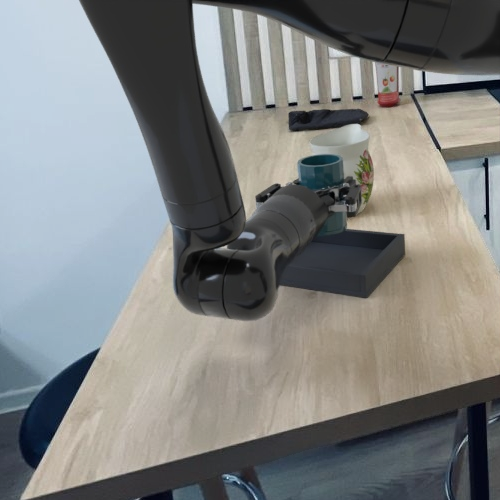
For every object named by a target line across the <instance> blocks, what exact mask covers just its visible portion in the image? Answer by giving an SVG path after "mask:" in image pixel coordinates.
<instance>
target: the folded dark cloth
mask: <svg viewBox="0 0 500 500" xmlns="http://www.w3.org/2000/svg"><path fill="white" fill-rule="evenodd" d="M287 115H288V122H287V123H288V130H290V131H292V132H297V131H313V130H320V129H331V128H341V127H343V126H346V125H350V124H359V123H361V122H363V121H364V120H365V119H366V118H368V117H369V116H370V114H369V112H367V111H366V110H363V109H361V108H346V109H345V108H344V109H342V108H341V109H329V108H328V109H327V108H322V109H312V110H309V111H306V110H291V111H289V112H288V113H287Z"/></svg>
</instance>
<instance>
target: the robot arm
mask: <svg viewBox="0 0 500 500" xmlns="http://www.w3.org/2000/svg"><path fill="white" fill-rule="evenodd" d="M78 1H79V4H80V6H81V8H82V10H83V12H84V14H85V16H86V18H87V19H88V22H89V23H90V26H91V27H92V29H93V31H94V33H95V36H96V37H97V39H98V41H99V43H100V44H101V47H102V49H103V51H104V52H105V54H106V57H107V58H108V60H109V62H110V64H111V67H112V68H113V70H114V73H115V75H116V76H117V77H116V78H117V79H118V81H119V83H120V85H121V88H122V91H123V92H124V94H125V97H126V100H127V101H128V104H129V106H130V108H131V110H132V113H133V116H134V119H135V120H136V123H137V126H138V129H139V131H140V133H141V136H142V138H143V141H144V144H145V147H146V149H147V153H148V156H149V159H150V161H151V165H152V168H153V171H154V174H155V178H156V181H157V184H158V188H159V191H160V194H161V198H162V200H163V204H164V206H165V211H166V214H167V217H168V219H169V222H170V226H171V230H172V255H173V258H172V259H173V260H172V261H173V266H172V267H173V269H172V288H173V293H174V296H175V298H176V299H177V301H178V302H179V304H180V305H181V306H182V307H183V308H184V309H185V310H186V311H187V312H189V313H191V314H194V315H197V316H203V317H211V318H217V319H225V320H231V321H232V320H233V321H239V322H256V321H258V320H262V319H263V318H265V317H267V316H268V315H269V314H270V313H271V312H272V311H273V310H274V308H275V306H276V303H277V301H278V296H279V290H280V286H281V285H280V281H281V278H282V275H283V272H284V270H285V269H286V268H287V266H288V265H289V264H290V263H291V262H292V261H293V260H294V259H295V258H296V257H298V256H299V255H300V254H301V253H302V252H303V251H304V250H305V249H306V248H307V246H308V245H309V244H310V243H311V242H312V241H313V239H314V238H315V237H316V236H317V235H318V234H319V232H320V231H321V230H322V228H323V226H324V224H325V221H326V219H327V218H328V217H330V216H332V215H334V214H335V212H344V213H345V214H346V215H347V218H350V219H351V218H356V217H357V215H358V214H359V213H358V211H359V209H360V206H361V204H362V195H361V185H357V184H356V180H355V179H353V176H347V177H346V178H345V179H344V181H342V183H341V184H340V185H337V186H335V185H327V186H324V187H322V188H319V189H315V188H314V189H309V188H307V187H305V186H301V185H299V177H298V178H296V179H294V180H293V181H289V182H286V183H285V186H282V185H281V183H273V184H271V185H270V186H269V187H267V188H266V189H264V190H262V191H261V192H259V193H258V194H256V195H255V206H256V207H255V208H256V209H255V210H254V211H253V212H252V214H251V215H250V217H248V218H247V216H246V208H245V205H244V200H243V195H242V191H241V187H240V182H239V178H238V174H237V170H236V165H235V162H234V159H233V155H232V152H231V148H230V146H229V142H228V140H227V137H226V135H225V133H224V130H223V128H222V125H221V123H220V121H219V119H218V116H217V115H216V112H215V110H214V108H213V106H212V103H211V101H210V98H209V95H208V92H207V89H206V85H205V81H204V78H203V74H202V71H201V65H200V60H199V55H198V50H197V41H196V30H195V20H194V19H195V17H194V5H200V6H201V5H202V6H208V7H216V8H223V9H229V10H236V11H240V12H241V11H242V12H247V13H251V14H254V15H257V16H261V17H263V18H266V19H269V20H271V21H274V22H276V23H278V24H280V25H283V26H284V27H287V28H289V29H291V30H292V31H295V32H297V33H299V34H301V35H303V36H305V37H307V38H309V39H311V40H313V41H315V42H317V43H320V44H322V45H324V46H326V47H328V48H330V49H333V50H336V51H338V52H341V53H344V54H346V55H349V56H351V57H354V58H358V59H361V60H366V61H369V62H372V63H375V62H376V63H382V64H387V65H392V66H398V67H399V68H403V69H408V70H414V71H418V72H426V73H432V74H433V73H434V74H441V75H442V74H443V75H456V76H500V0H78ZM340 191H341V198H340V199H339V192H340ZM327 193H328V194H327ZM357 213H358V214H357ZM223 247H226V248H223Z"/></svg>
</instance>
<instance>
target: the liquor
mask: <svg viewBox="0 0 500 500" xmlns="http://www.w3.org/2000/svg"><path fill="white" fill-rule="evenodd" d="M374 64H375V74H376V85H377V96H378V97H377V98H378V99H377V101H376V103H377V104H378V105H379V106H380V107H381V108H391V107H396V106H397V105H398V104H399V103H400V102H401V98H400V89H399V87H400V84H399V82H400V81H399V79H400V78H399V77H400V74H399V73H400V71H399V70H400V67H398V66H392V65H387V64H382V63H376V62H374Z"/></svg>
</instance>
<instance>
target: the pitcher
mask: <svg viewBox="0 0 500 500" xmlns="http://www.w3.org/2000/svg"><path fill="white" fill-rule="evenodd" d="M370 137H371V135H370V133H369V132H368V131H367V130H365V129H363V128H362V125H361V124H359V123H357V124H350V125H346V126H343V127H338V128H336V129H332V130H328V131H325V132H322V133H319V134H318V135H315V136H314V137H312V138H311V139H310V140H309V147H310V150H311V153H312V155H318V154H335V155H340V156H341V157H343V165H344V179H345V178H346V177H347V176H353V179H355V180H356V184H357V185H361V195H362V204H361V206H360V209H359V211H358V213H357V215H358V214H360V213H362V212H363V211H364V209H365V208H366V207H367V205H368V203H369V201H370V199H371V196H372V191H373V186H374V181H375V180H374V179H375V178H374V177H375V172H374V171H375V170H374V163H373V160H372V156H371V154H370V152H369V143H370V139H371V138H370Z"/></svg>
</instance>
